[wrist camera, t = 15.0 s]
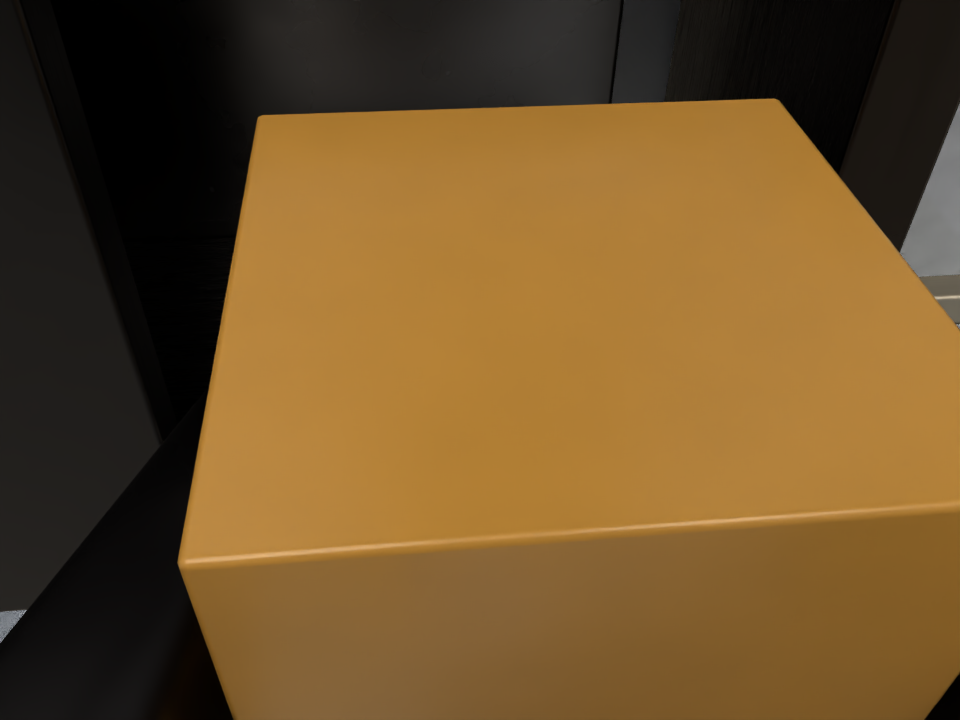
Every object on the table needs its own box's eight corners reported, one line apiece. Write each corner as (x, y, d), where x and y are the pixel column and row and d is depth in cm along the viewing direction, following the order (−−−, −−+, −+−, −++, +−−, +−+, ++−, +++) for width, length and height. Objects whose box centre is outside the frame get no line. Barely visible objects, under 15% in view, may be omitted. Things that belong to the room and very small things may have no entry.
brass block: (779, 96, 8) (1096, 497, 4) (689, 445, 11) (839, 841, 7) (256, 112, 7) (171, 565, 4) (314, 471, 10) (295, 901, 7)
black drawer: (1158, -402, 13) (1688, -385, 8) (904, 236, 20) (1090, 462, 15) (-205, -432, 11) (-675, -432, 6) (57, 275, 18) (-57, 543, 13)
